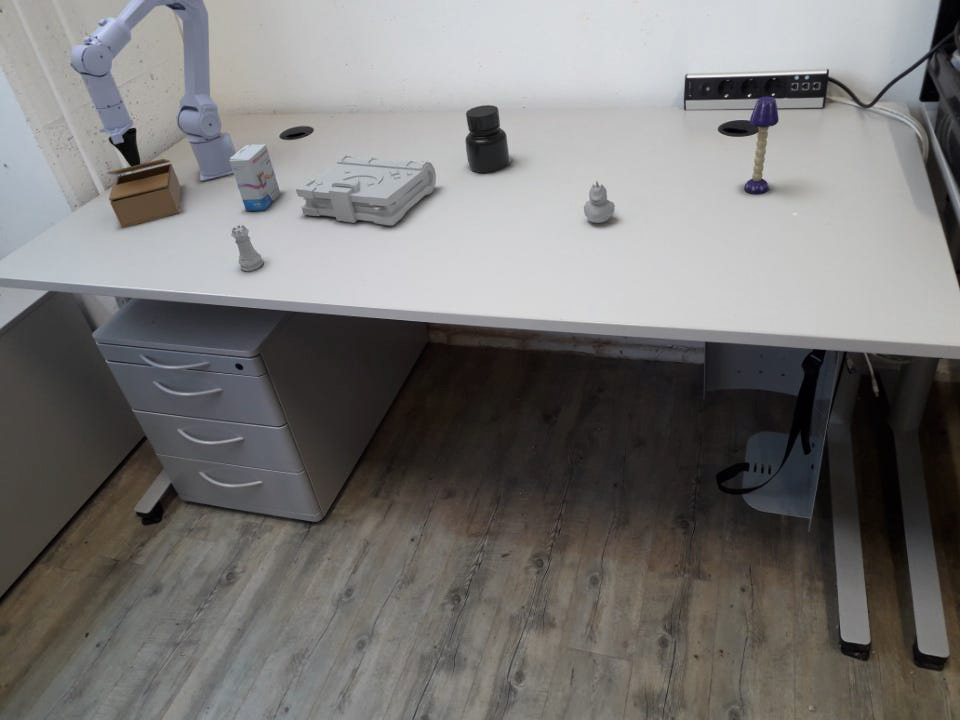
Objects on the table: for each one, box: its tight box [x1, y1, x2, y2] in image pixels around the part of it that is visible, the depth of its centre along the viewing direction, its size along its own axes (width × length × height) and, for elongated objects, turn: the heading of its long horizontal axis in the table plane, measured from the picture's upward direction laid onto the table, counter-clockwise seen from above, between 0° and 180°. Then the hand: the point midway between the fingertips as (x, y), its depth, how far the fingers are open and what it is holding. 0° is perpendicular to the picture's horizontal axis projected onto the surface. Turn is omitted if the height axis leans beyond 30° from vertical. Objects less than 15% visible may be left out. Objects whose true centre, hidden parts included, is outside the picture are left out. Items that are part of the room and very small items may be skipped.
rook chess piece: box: [231, 224, 264, 272], centre depth 140 cm, size 4×4×8 cm
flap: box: [106, 158, 171, 176], centre depth 172 cm, size 8×12×1 cm, turn 106°
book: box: [295, 154, 437, 226], centre depth 156 cm, size 19×28×8 cm
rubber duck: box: [583, 180, 616, 224], centre depth 135 cm, size 5×7×8 cm
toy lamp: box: [743, 96, 780, 195], centre depth 133 cm, size 5×5×17 cm
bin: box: [108, 163, 182, 228], centre depth 171 cm, size 16×12×7 cm
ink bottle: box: [464, 104, 510, 174], centre depth 161 cm, size 10×9×12 cm
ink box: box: [230, 144, 281, 212], centre depth 162 cm, size 9×5×12 cm, turn 168°
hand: (135, 164), depth 168 cm, fingers closed
